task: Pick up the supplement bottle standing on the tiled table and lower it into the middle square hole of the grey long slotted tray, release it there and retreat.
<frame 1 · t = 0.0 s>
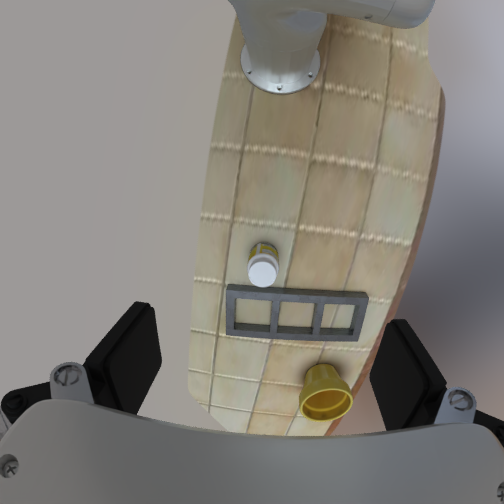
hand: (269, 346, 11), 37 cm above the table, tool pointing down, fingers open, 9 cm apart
plant pot: (321, 373, 56), on the table
supplement bottle: (264, 255, 48), on the table
grey long slotted tray: (296, 311, 51), on the table
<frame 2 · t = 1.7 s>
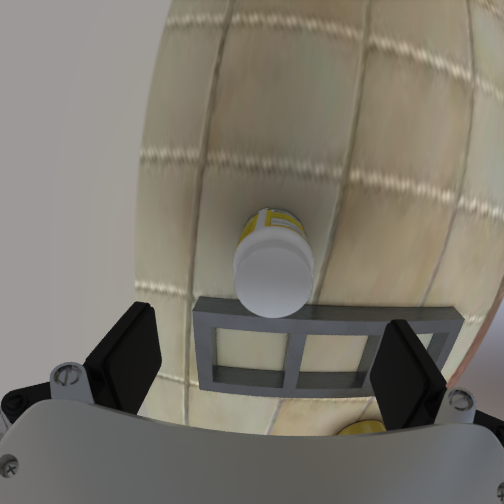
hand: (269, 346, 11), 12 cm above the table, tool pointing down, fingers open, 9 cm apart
plant pot: (360, 431, 30), on the table
supplement bottle: (273, 235, 22), on the table
grey long slotted tray: (333, 348, 25), on the table
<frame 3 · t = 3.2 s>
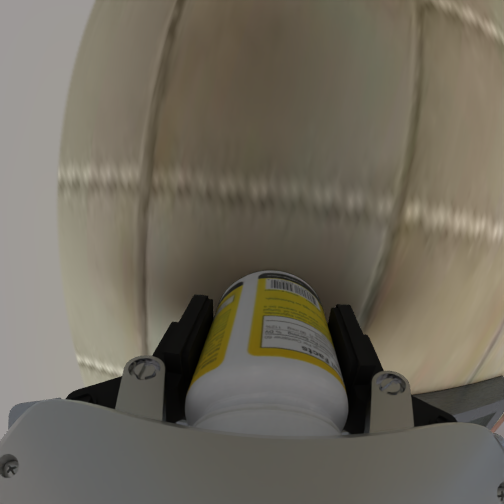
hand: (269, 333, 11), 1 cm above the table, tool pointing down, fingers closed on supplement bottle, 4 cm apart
supplement bottle: (270, 313, 13), on the table, touching gripper
grey long slotted tray: (349, 441, 16), on the table
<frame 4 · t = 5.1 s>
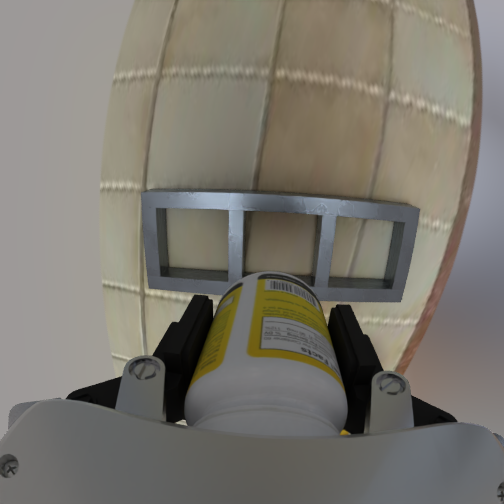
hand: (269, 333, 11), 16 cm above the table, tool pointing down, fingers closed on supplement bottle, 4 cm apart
supplement bottle: (270, 314, 13), point 14 cm above the table, touching gripper
grey long slotted tray: (280, 241, 27), on the table
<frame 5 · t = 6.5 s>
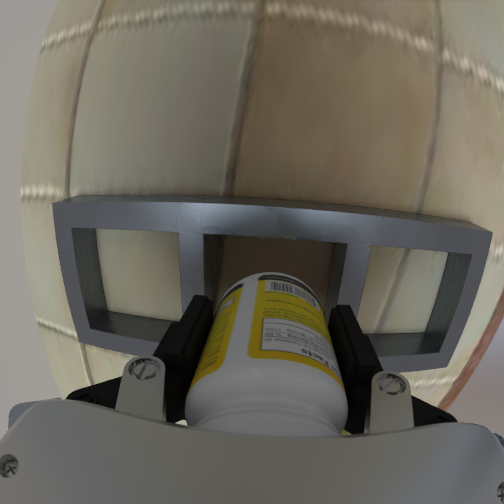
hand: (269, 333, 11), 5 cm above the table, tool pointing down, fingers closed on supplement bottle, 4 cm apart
supplement bottle: (270, 315, 13), point 3 cm above the table, touching gripper
grey long slotted tray: (271, 282, 16), on the table
when the fingers open (3 cm above the table, at t = 7.2 s): supplement bottle drops 1 cm, resting in grey long slotted tray.
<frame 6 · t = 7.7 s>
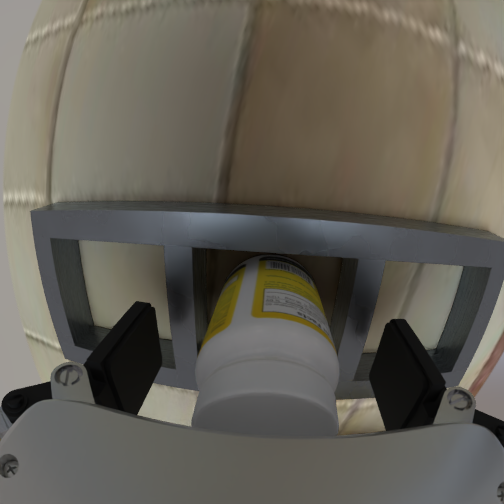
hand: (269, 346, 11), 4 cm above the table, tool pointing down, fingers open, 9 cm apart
supplement bottle: (270, 295, 14), resting in grey long slotted tray
grey long slotted tray: (271, 299, 14), on the table
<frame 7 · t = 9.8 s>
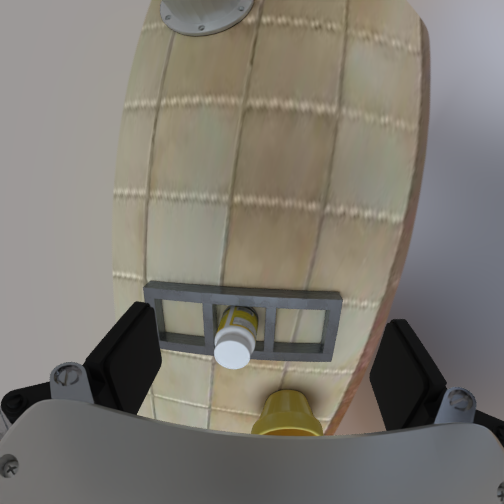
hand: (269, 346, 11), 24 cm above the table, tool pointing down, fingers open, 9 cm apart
plant pot: (287, 401, 41), on the table
supplement bottle: (240, 317, 38), resting in grey long slotted tray
grey long slotted tray: (241, 319, 37), on the table
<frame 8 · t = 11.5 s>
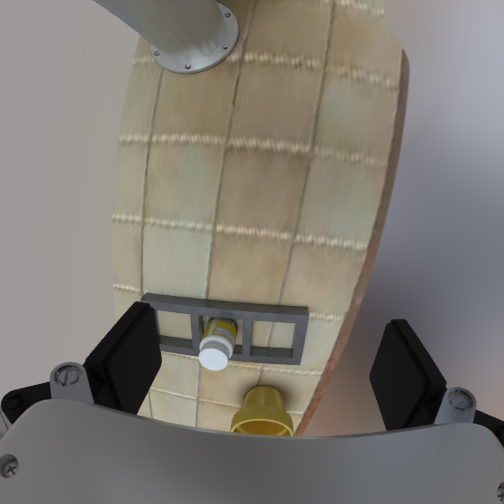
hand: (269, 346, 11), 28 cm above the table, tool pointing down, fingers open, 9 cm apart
plant pot: (264, 396, 48), on the table
supplement bottle: (223, 325, 44), resting in grey long slotted tray
grey long slotted tray: (223, 327, 44), on the table
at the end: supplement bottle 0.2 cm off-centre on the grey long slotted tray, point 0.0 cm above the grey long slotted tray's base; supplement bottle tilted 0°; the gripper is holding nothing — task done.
